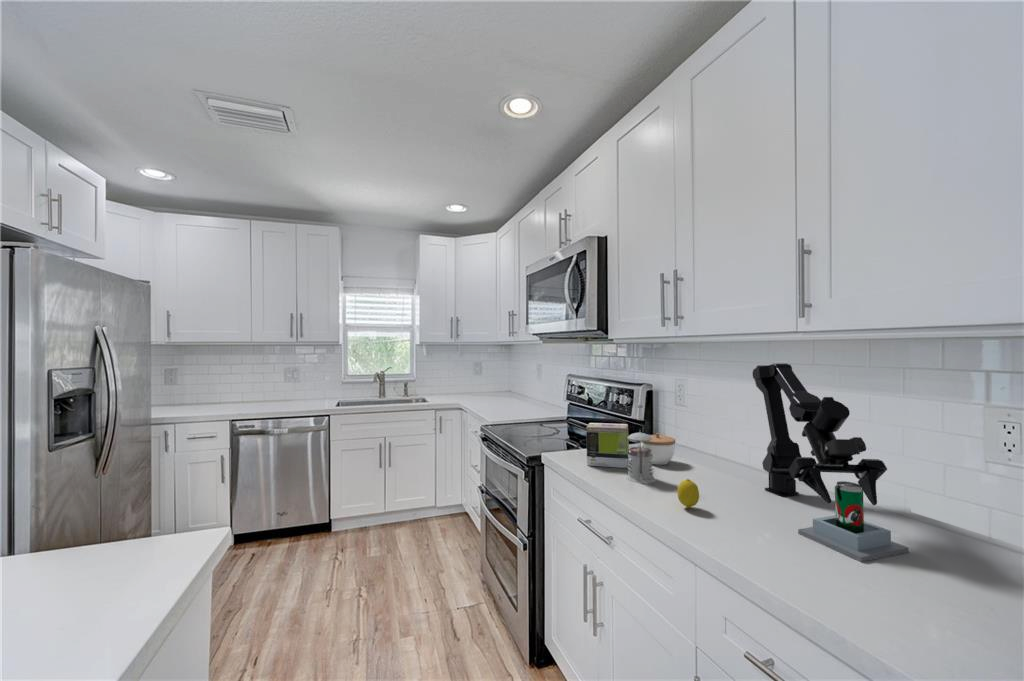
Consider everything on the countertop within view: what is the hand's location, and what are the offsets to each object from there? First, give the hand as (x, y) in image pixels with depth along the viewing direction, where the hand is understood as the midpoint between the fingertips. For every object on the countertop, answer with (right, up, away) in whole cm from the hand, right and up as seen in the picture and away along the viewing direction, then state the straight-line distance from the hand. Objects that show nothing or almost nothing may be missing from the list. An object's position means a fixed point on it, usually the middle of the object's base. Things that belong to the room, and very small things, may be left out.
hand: (852, 503), depth 96 cm
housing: (0, -9, +1) cm, 9 cm away
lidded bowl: (-21, -10, +68) cm, 71 cm away
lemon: (-28, -10, +22) cm, 37 cm away
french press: (-33, -10, +47) cm, 59 cm away
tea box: (-40, -10, +66) cm, 78 cm away
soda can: (0, -8, +1) cm, 8 cm away
